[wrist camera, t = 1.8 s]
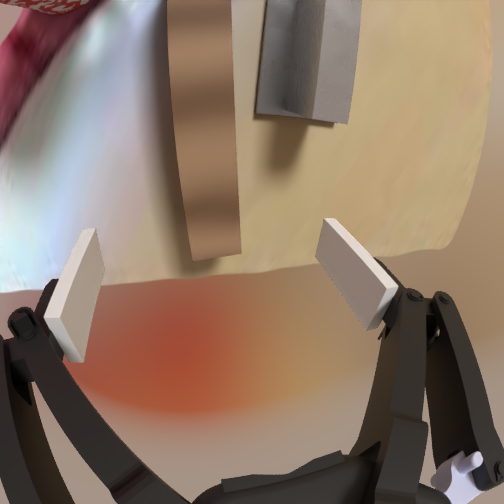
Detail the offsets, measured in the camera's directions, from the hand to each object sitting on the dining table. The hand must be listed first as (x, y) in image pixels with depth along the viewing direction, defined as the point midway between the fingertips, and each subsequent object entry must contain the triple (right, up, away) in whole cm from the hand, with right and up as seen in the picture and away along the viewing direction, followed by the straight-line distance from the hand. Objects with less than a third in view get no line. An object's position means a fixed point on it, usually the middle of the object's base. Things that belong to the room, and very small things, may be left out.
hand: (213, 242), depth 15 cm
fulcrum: (+7, +17, +4) cm, 19 cm away
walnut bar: (-2, +12, +5) cm, 13 cm away
